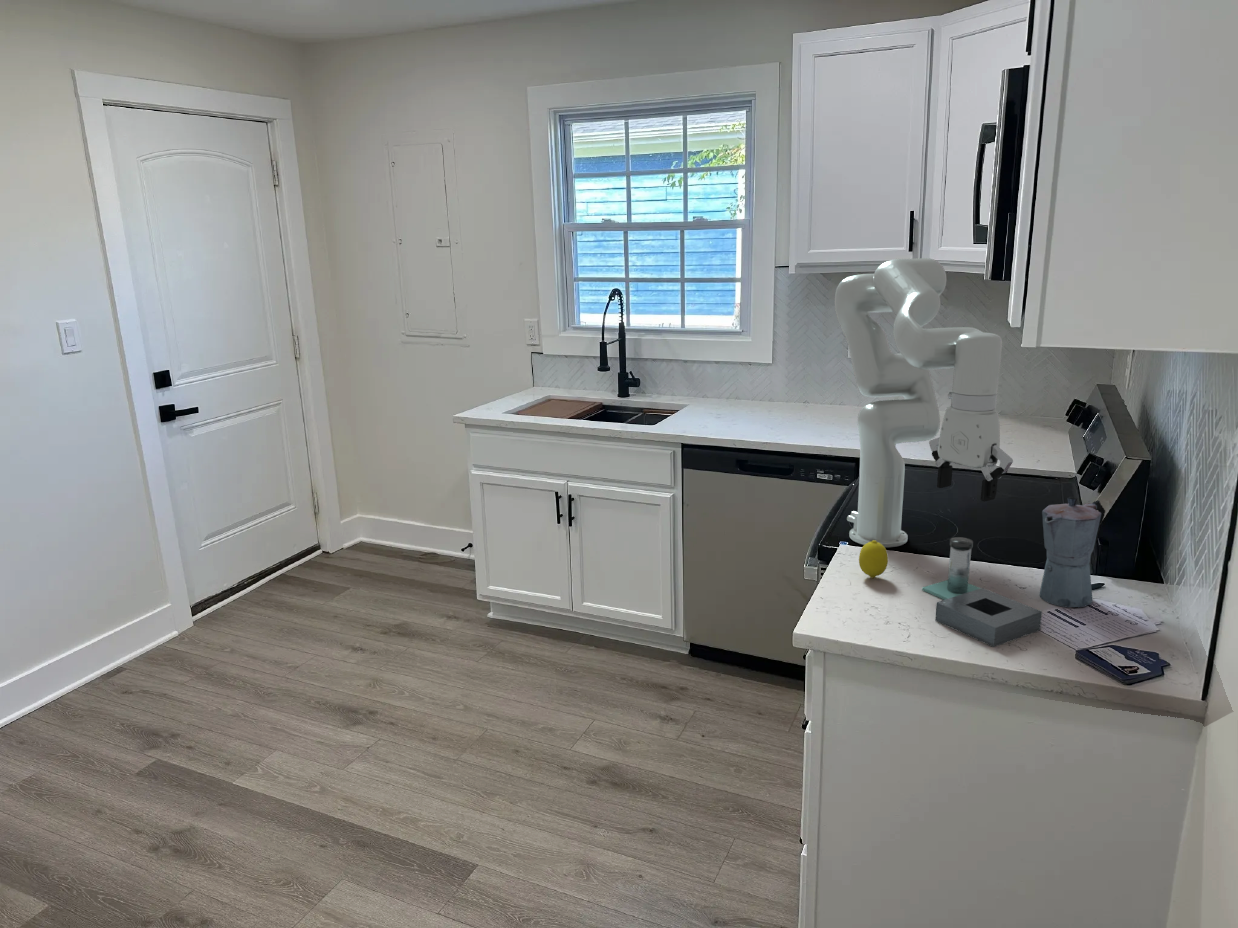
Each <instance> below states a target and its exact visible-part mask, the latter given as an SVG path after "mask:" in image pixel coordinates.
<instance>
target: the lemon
mask: <svg viewBox="0 0 1238 928" xmlns="http://www.w3.org/2000/svg"><path fill="white" fill-rule="evenodd" d="M858 563H859V567H860V569H861V571H862V572H863V573H864V574H865V575H867V576H868V577H870V579H874V578H876V577H878V576H880V575H882V574H883V573H884V572H886V569H887V567H888V564H889V555H888V550H887V549H886V547H884V546H883V545H882V544H881V543H879V542H877V541H876V540H873V541H872V542H868V543H866V544H865V545H862V547H861V549H860V552H859V555H858Z"/></svg>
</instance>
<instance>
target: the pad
mask: <svg viewBox="0 0 1238 928" xmlns="http://www.w3.org/2000/svg"><path fill="white" fill-rule="evenodd" d="M947 585H948V579H946V580H942V581H940V582H936V583H932V584H929V585H926V586H923V587H921V588H922V589H921V591H923V592H925V593H927V594H929V595H932V596H935V597H936V598H939V599H942V600H945V599H949V598H952V597H955V596H958V595H961V594H955V593H951V592H949V591H948V590H947ZM980 588H981V587H978V586H976V585H974V584H971V583H969V582H968V591H967V593H968V592H971V591H974V590H977V589H980Z"/></svg>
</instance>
